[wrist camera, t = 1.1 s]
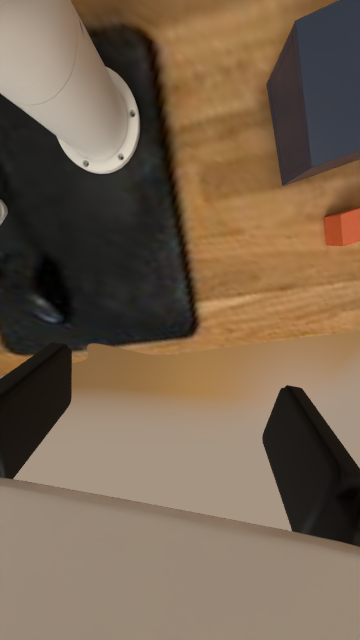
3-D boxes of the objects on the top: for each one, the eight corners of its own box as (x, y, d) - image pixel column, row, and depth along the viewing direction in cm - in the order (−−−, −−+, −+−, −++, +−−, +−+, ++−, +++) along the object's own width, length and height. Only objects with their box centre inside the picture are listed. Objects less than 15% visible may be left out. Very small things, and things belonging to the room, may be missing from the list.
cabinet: (386, 32, 28) (473, -63, 19) (389, 148, 32) (462, 113, 23) (266, 84, 30) (295, 20, 22) (282, 186, 34) (312, 167, 25)
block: (326, 245, 36) (343, 246, 32) (323, 217, 35) (340, 214, 31) (355, 236, 36) (376, 236, 32) (353, 207, 34) (375, 203, 30)
